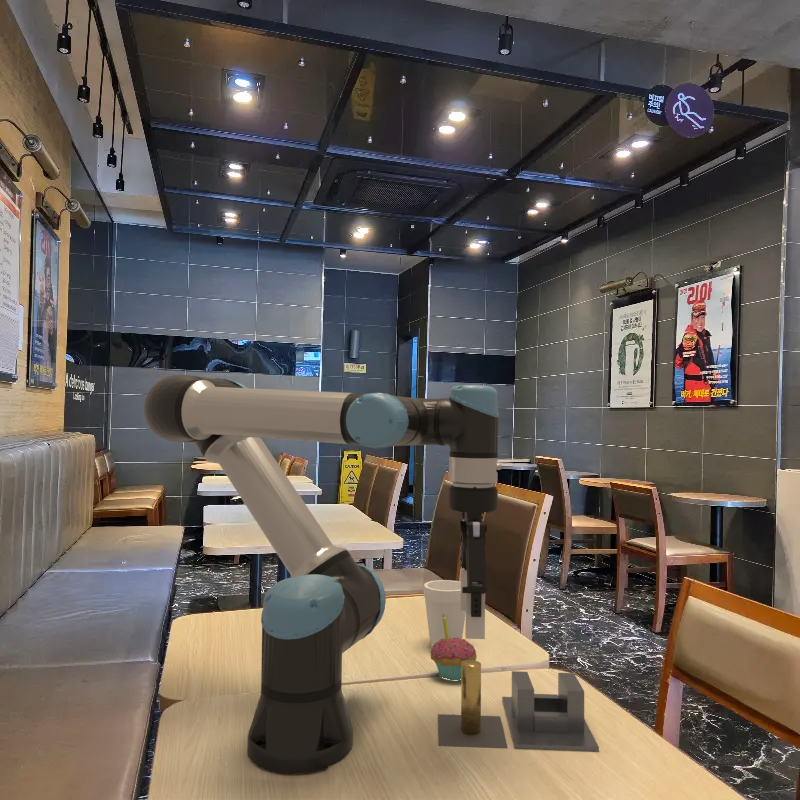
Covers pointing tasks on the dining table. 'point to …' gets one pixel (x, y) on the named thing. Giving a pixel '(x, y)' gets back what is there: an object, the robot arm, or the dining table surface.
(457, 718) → the mat
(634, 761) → the dining table surface
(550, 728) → the bracket
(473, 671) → the peg
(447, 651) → the cupcake
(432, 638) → the foam cup
